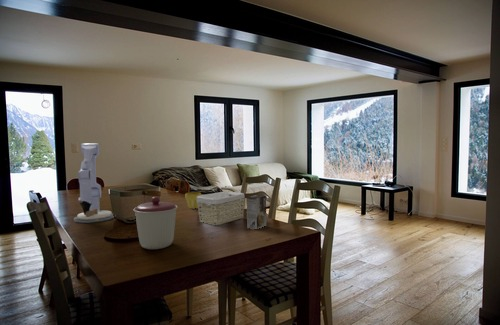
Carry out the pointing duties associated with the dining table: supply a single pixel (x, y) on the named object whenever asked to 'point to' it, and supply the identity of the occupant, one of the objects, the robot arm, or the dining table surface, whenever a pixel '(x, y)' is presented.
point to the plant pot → (192, 200)
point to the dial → (94, 214)
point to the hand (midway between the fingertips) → (86, 214)
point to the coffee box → (256, 211)
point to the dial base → (93, 220)
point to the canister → (155, 223)
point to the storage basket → (220, 207)
